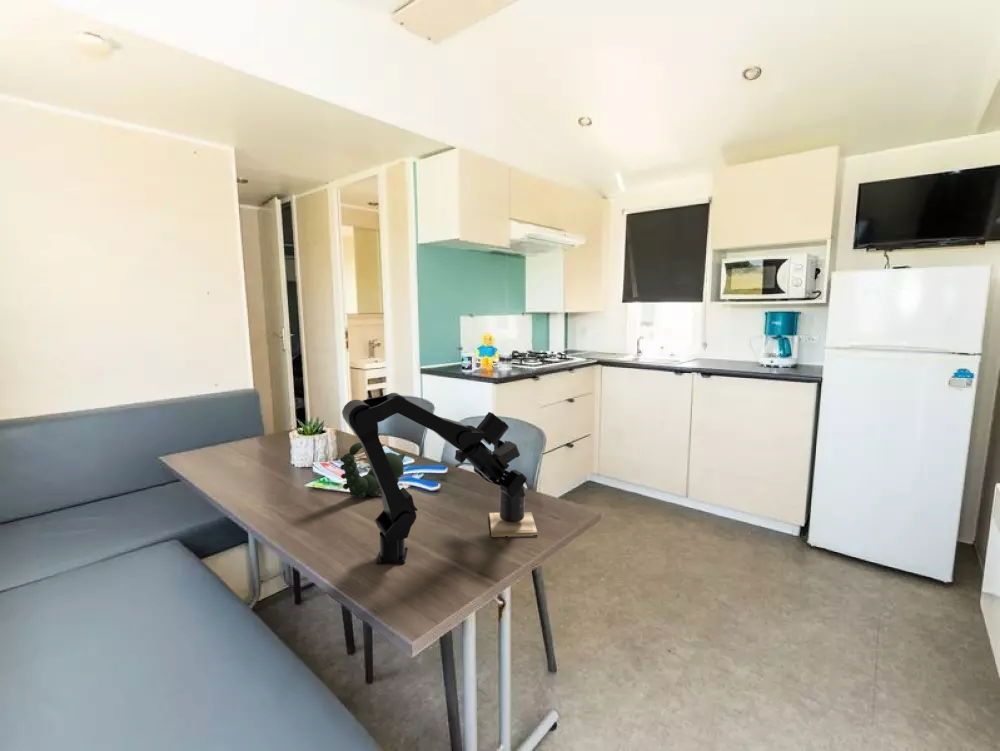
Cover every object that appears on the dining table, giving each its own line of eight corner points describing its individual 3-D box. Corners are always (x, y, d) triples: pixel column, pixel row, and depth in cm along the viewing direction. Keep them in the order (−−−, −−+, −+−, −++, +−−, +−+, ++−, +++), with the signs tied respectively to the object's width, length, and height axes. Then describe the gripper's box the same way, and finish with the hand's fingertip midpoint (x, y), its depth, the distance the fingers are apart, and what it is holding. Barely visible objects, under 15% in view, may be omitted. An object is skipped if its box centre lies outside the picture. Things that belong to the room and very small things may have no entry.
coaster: (537, 536, 123) (537, 532, 123) (491, 536, 123) (491, 532, 122) (531, 515, 135) (531, 511, 135) (489, 516, 134) (489, 512, 134)
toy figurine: (359, 512, 139) (417, 479, 159) (353, 452, 135) (413, 426, 155) (338, 504, 144) (397, 473, 164) (331, 446, 140) (392, 422, 160)
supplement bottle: (516, 509, 133) (518, 469, 131) (528, 520, 127) (530, 478, 125) (494, 514, 130) (496, 472, 128) (506, 525, 124) (508, 481, 122)
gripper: (521, 443, 115) (555, 479, 122) (484, 425, 131) (516, 458, 138) (492, 479, 112) (529, 514, 119) (458, 457, 128) (492, 488, 135)
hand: (516, 491), depth 128 cm, fingers closed on supplement bottle, 7 cm apart
